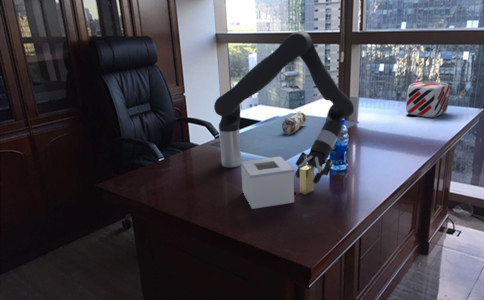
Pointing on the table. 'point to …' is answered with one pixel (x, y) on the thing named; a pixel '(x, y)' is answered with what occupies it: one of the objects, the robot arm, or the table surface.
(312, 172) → the tan rectangular block
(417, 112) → the decorative cube
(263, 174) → the box
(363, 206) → the table surface
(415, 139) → the table surface
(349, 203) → the table surface
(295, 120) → the pencil case
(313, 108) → the table surface
